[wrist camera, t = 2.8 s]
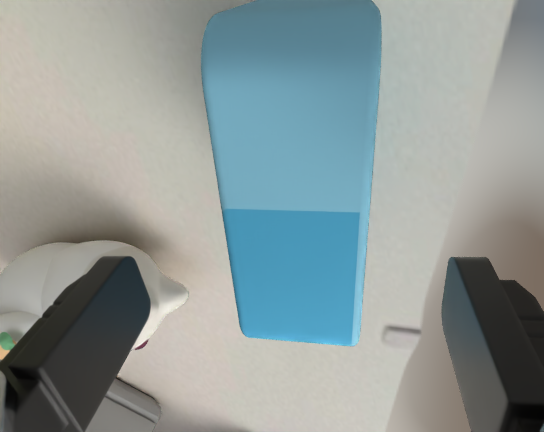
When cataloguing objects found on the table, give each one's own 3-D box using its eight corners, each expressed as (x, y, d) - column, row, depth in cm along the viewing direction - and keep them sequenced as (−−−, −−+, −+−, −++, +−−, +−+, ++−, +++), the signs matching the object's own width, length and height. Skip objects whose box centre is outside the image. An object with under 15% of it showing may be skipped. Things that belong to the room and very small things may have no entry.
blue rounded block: (271, -6, 19) (188, 19, 9) (364, -13, 18) (386, 8, 8) (283, 204, 25) (242, 355, 15) (353, 206, 25) (358, 365, 15)
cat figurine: (-62, 373, 26) (118, 398, 20) (-71, 252, 26) (108, 244, 20) (62, 330, 35) (210, 339, 29) (56, 240, 35) (203, 232, 29)
